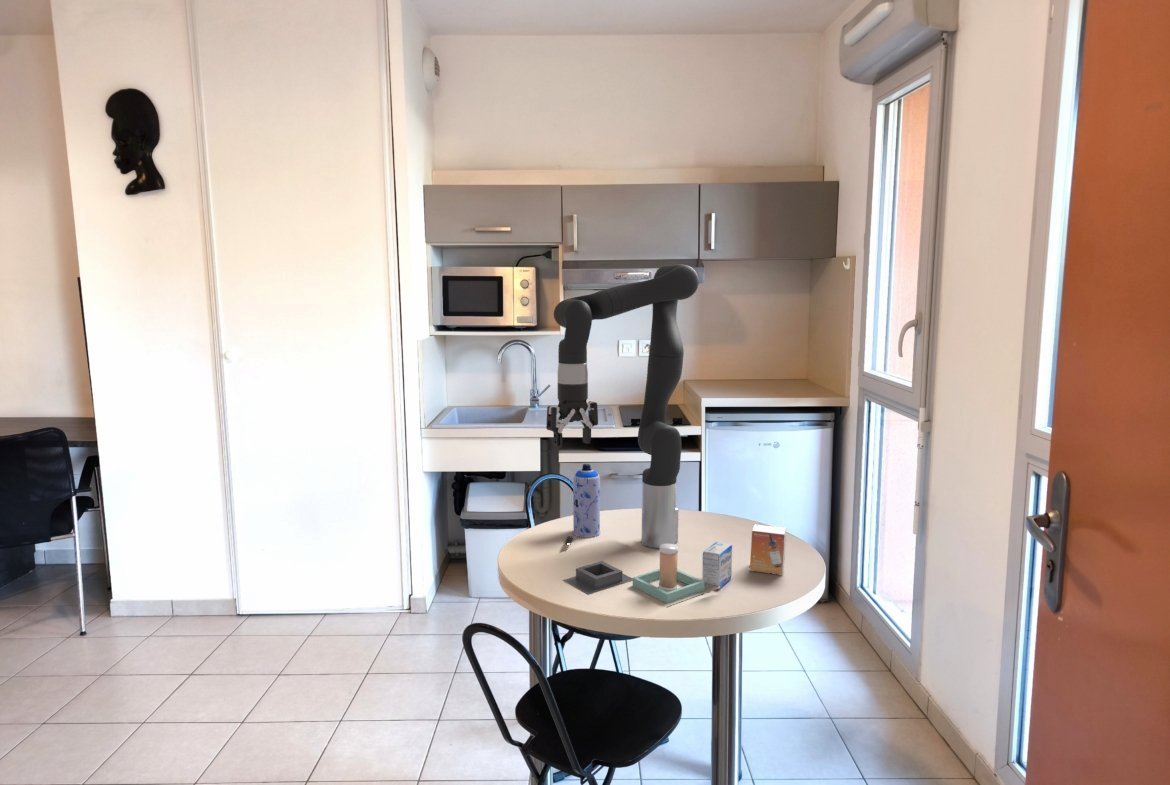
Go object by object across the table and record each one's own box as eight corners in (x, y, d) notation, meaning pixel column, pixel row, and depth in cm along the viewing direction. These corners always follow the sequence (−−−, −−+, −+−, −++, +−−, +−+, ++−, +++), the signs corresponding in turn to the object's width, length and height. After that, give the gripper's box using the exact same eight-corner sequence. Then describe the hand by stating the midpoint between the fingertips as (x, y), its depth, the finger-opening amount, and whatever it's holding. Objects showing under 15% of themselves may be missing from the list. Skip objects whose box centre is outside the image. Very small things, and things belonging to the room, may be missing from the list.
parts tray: (668, 577, 174) (669, 565, 174) (704, 594, 165) (704, 581, 165) (632, 589, 167) (632, 577, 167) (666, 607, 158) (667, 594, 158)
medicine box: (719, 590, 167) (720, 554, 166) (701, 586, 169) (702, 551, 168) (731, 579, 174) (732, 544, 172) (714, 575, 176) (715, 540, 175)
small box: (749, 571, 178) (750, 530, 177) (752, 563, 183) (753, 523, 182) (782, 576, 176) (784, 534, 174) (784, 567, 181) (786, 527, 179)
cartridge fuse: (659, 584, 168) (660, 543, 167) (677, 585, 168) (678, 544, 166) (658, 591, 164) (659, 549, 163) (677, 592, 164) (678, 550, 162)
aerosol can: (570, 529, 208) (569, 462, 205) (596, 527, 210) (596, 460, 207) (576, 538, 201) (576, 468, 198) (603, 536, 203) (603, 467, 200)
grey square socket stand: (608, 570, 179) (608, 556, 178) (635, 583, 171) (635, 569, 170) (562, 584, 170) (562, 570, 170) (588, 598, 162) (588, 584, 162)
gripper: (557, 384, 172) (557, 451, 174) (604, 380, 180) (604, 444, 182) (540, 381, 177) (540, 446, 180) (586, 377, 186) (586, 439, 188)
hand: (572, 445), depth 181 cm, fingers open, 8 cm apart
